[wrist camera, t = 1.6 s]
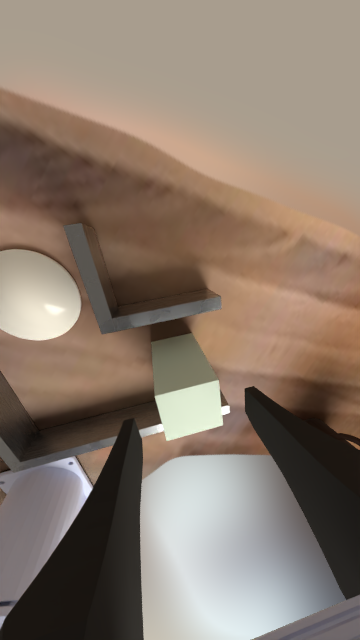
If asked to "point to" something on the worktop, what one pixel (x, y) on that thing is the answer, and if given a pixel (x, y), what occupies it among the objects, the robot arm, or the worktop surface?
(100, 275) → the bent metal channel
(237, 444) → the worktop surface
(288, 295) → the worktop surface
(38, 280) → the cream dome disc
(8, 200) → the worktop surface
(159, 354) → the sage block
